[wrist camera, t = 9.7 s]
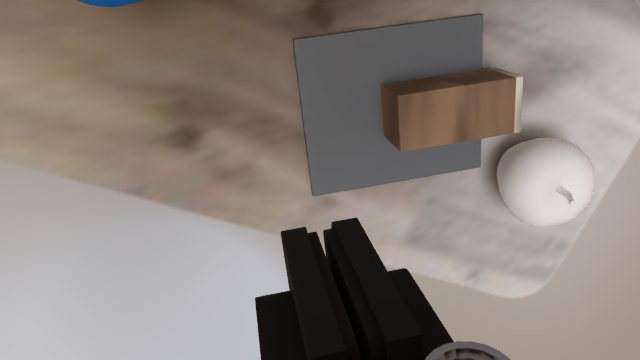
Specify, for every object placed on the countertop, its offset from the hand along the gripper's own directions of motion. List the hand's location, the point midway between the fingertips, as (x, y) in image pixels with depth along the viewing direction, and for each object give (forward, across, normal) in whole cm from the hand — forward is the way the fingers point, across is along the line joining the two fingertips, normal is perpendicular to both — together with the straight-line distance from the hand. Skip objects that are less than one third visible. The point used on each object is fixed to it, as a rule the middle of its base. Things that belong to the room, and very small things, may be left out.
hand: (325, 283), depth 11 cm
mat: (+27, -10, +4) cm, 29 cm away
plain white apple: (+27, -21, +11) cm, 36 cm away
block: (+25, -9, +4) cm, 27 cm away
